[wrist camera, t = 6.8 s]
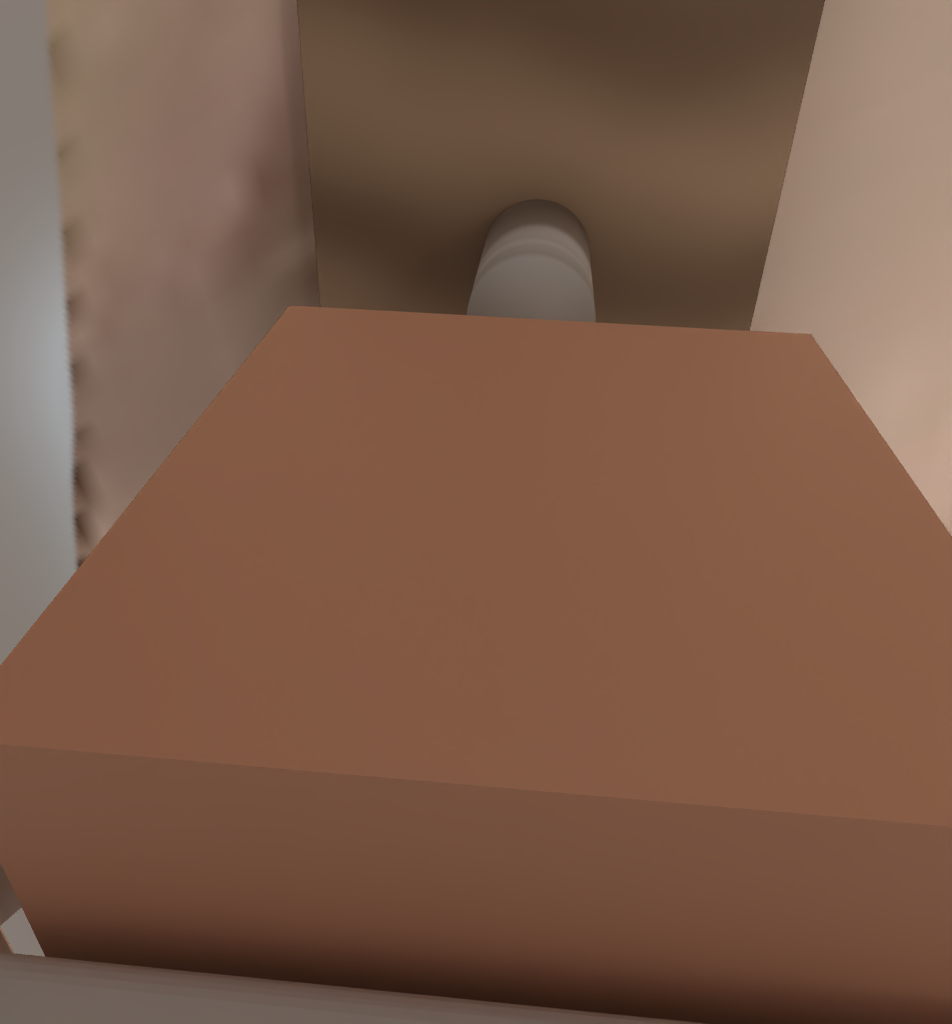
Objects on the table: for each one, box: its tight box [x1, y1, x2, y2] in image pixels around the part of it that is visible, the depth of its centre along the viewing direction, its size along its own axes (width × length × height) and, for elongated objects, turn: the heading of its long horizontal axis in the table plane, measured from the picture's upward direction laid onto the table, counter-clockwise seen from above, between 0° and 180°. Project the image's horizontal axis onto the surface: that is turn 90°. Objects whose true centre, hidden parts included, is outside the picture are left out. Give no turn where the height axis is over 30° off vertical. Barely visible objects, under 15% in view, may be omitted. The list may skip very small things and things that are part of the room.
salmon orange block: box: [0, 305, 952, 1024], centre depth 9 cm, size 6×6×7 cm
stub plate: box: [297, 0, 825, 331], centre depth 21 cm, size 16×12×6 cm
